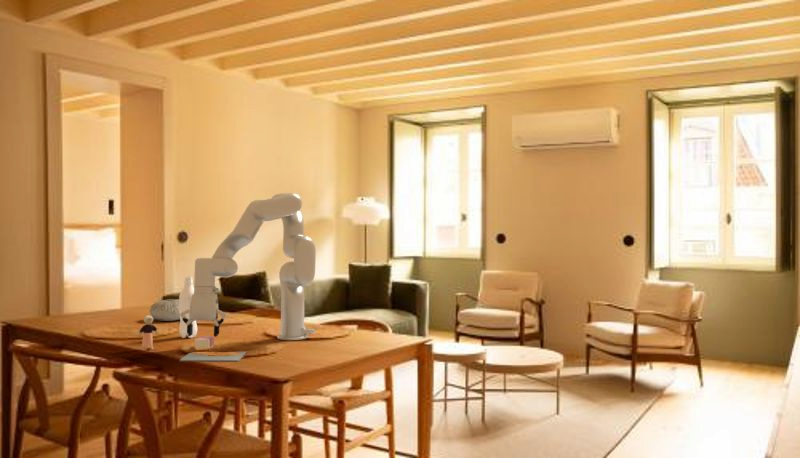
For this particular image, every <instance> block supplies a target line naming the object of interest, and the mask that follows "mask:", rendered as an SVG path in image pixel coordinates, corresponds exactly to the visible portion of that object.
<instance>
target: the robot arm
mask: <svg viewBox="0 0 800 458" xmlns="http://www.w3.org/2000/svg"><path fill="white" fill-rule="evenodd" d="M302 205H303V201H302V198H301V197H300V196H299V195H298V194H296V193H293V192H286V193H285V192H284V193H283V192H282V193H277V194H274V195H273V196H272V197H271V198H267V199H256V200H253V201H251V202H250V203H249V204H248V205H247V207H246V208H245V210H244V212H243V213H242V214H241V216H240V218H239V220H238V222H237V223H236V225H235V227H234V229H233V230H232V231H231V232H230V233H229V234H228V235H227V236H226V237H225V239H224V240H222V242H221V243H220V245H218V246H217V248H216V250H215V252H214V253H213V255H212V256H211V257H198V258H196V259H195V260H194V275H193V277H194V281H193V283H194V285H193V287H194V294H192V297H191V302H190V309H188V310H186V311H184V312H182V313H181V314H180V315H181V317H182V319H183V321H184V322H185V323H186V325H187V333H188V336H191V335H192V333H193V325H192V322H193V321H196V322H199V321H200V322H213V324H214V326H213V336H214V338H217V337H218V335H219V334H220V325H221V324H222V323H223V322H224V321H225V320H226V318H227V317H228V316H227V315H228V314H227V313H225V312H224V311H222V310H220V309H219V301H218V300H219V299H218V294H217V293H216V292H219V287H216V277H221V278H230V277H233V276H234V275H236V274H237V272H238V270H239V268H238V267H239V266H238V263H237V262H236V261H235V260H234V257H235V255H236V254H237V253H238V252H239V251H240V250H242V249H243V248H244V247H246V246H248V245H250V244H251V243H252V242H253V241H254V239H255V237H256V236H257V234H258V232H259V231H260V229H261V227H262V226H263V224H264V222H270V221H274V220H280V219H281V221H282V226H283V231H282V232H283V235H282V239H283V240H282V241H283V242H282V250H283V254H284V255H285V256H286V257H288V258H291V259H293V261H288V262H285V263H284V264H283V265H281V267H280V269H279V276H278V277H279V283H280V293H281V295H280V296H281V297H280V333H279V334H277V335H276V338H277V339H278V340H283V341H299V340H307V338H309V336H308V335H309V334H311V335H315V333H316V330H315V328H306V327H307V326H306V325H305V289H304V287H307V286H309V285H311V284H312V283H313V281H314V280H315V274H316V256H317V255H316V250H317V249H316V245H315V242H314V241H313V239H312V238H311V237H309V236H308V235H307V236H306V235H305V223H304V222H305V221H304V217H303V214H302V212H301V211H300V210H301V208H302ZM188 313H189V318H190V319H189V320H188V319H187V318H186V314H188ZM219 315H220V316H221V318H220V319H219ZM188 336H187V337H188Z"/></svg>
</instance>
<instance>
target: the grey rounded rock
mask: <svg viewBox="0 0 800 458" xmlns="http://www.w3.org/2000/svg"><path fill="white" fill-rule="evenodd" d="M179 309H180V298H177V299H176V298H175V299H174V298H169V299H161V300H159V301H156V302H154V303H153V304H152V305H150V309H149V315H150V316H151V317H153V320H156V321H159V322H174V321H178V320H179V321H180V313H179Z"/></svg>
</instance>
